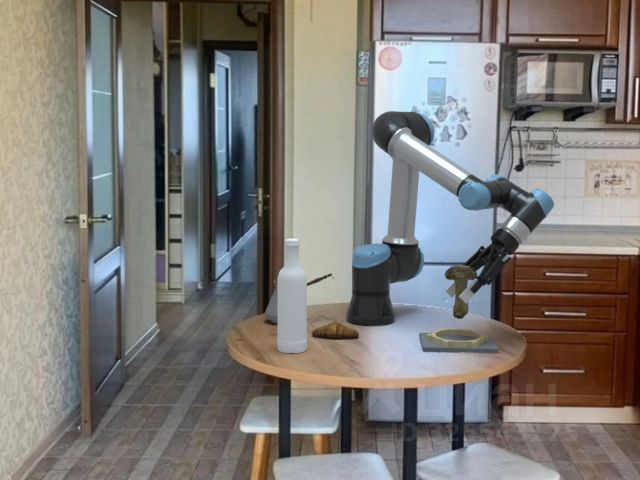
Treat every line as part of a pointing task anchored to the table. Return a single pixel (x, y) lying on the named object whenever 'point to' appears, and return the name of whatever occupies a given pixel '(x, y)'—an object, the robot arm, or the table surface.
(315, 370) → the table surface
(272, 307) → the coffee pot
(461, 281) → the mushroom
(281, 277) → the bottle
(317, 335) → the croissant
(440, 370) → the table surface
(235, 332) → the table surface
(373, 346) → the table surface
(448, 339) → the gear board
